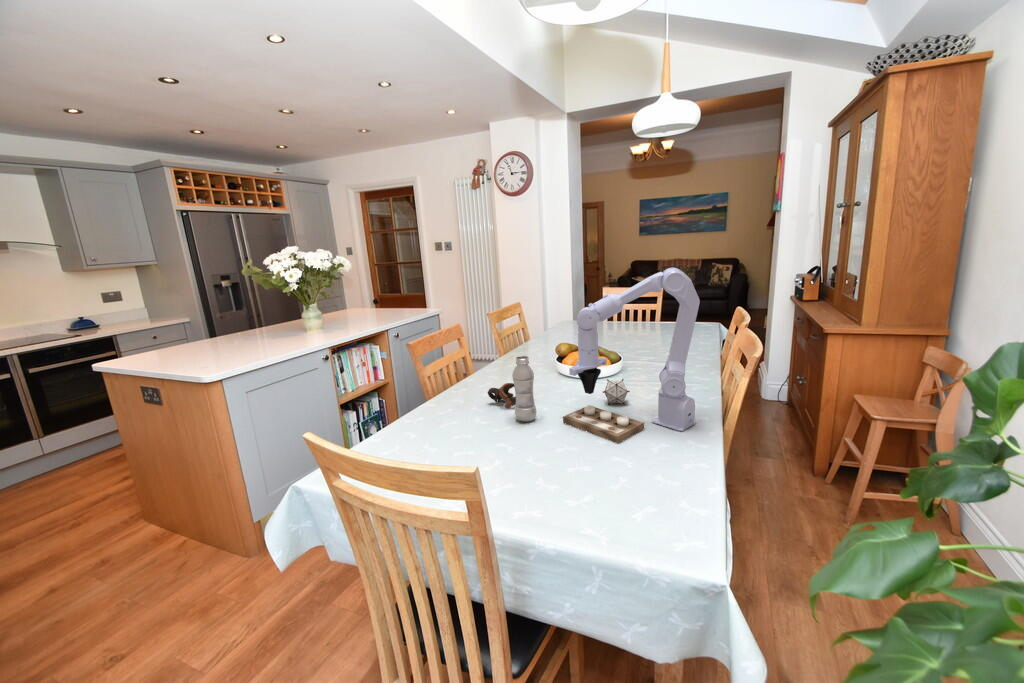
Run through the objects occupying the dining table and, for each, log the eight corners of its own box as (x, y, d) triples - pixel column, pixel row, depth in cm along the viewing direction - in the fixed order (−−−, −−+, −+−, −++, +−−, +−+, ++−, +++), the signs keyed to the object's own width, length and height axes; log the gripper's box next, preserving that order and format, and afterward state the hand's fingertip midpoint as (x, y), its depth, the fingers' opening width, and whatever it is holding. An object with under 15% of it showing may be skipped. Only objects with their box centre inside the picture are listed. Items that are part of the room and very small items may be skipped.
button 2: (630, 425, 123) (630, 418, 123) (624, 428, 121) (624, 422, 121) (621, 422, 125) (621, 415, 125) (614, 425, 123) (614, 418, 123)
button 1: (597, 414, 132) (597, 407, 132) (590, 417, 130) (590, 410, 130) (589, 411, 135) (588, 405, 134) (582, 414, 133) (582, 408, 132)
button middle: (613, 419, 128) (613, 413, 127) (606, 422, 126) (606, 416, 125) (604, 416, 130) (604, 410, 130) (597, 419, 128) (597, 413, 128)
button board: (644, 429, 123) (644, 421, 123) (618, 443, 116) (618, 435, 115) (589, 411, 138) (589, 404, 138) (563, 422, 131) (562, 415, 131)
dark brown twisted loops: (520, 398, 155) (525, 382, 150) (519, 419, 148) (524, 403, 143) (486, 392, 154) (490, 376, 149) (484, 413, 147) (487, 396, 142)
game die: (619, 416, 143) (621, 399, 135) (596, 403, 147) (597, 386, 139) (633, 396, 147) (635, 379, 139) (610, 384, 151) (612, 367, 143)
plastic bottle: (535, 424, 131) (531, 360, 127) (513, 424, 133) (509, 360, 128) (538, 416, 137) (535, 354, 133) (517, 415, 139) (513, 354, 134)
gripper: (593, 342, 135) (594, 383, 138) (561, 351, 126) (562, 396, 129) (612, 345, 130) (612, 388, 133) (579, 355, 121) (580, 401, 124)
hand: (589, 392), depth 131 cm, fingers closed
